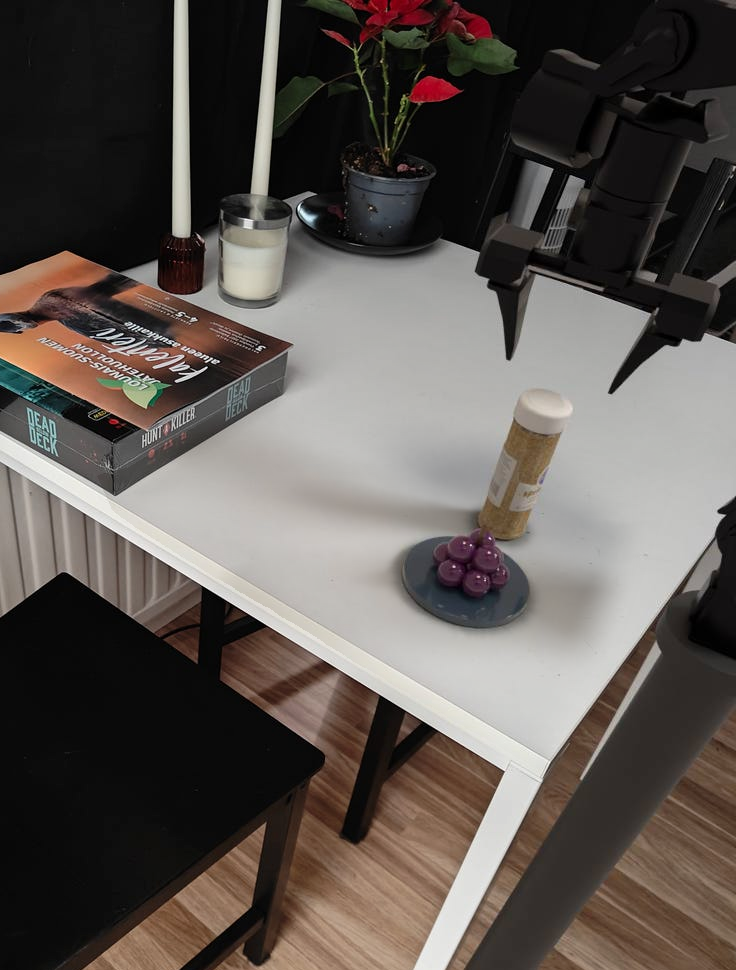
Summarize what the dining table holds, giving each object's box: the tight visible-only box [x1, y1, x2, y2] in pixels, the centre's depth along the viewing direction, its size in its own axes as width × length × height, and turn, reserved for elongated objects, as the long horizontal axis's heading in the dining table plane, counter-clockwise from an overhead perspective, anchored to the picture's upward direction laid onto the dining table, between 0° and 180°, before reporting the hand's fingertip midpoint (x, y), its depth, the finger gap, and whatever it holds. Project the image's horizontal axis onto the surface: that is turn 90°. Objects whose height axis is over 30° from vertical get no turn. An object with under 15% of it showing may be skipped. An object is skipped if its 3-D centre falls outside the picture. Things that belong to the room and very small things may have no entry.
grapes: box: [401, 522, 531, 628], centre depth 76 cm, size 11×11×7 cm
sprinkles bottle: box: [477, 387, 574, 541], centre depth 80 cm, size 5×5×13 cm
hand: (559, 375), depth 79 cm, fingers open, 9 cm apart
